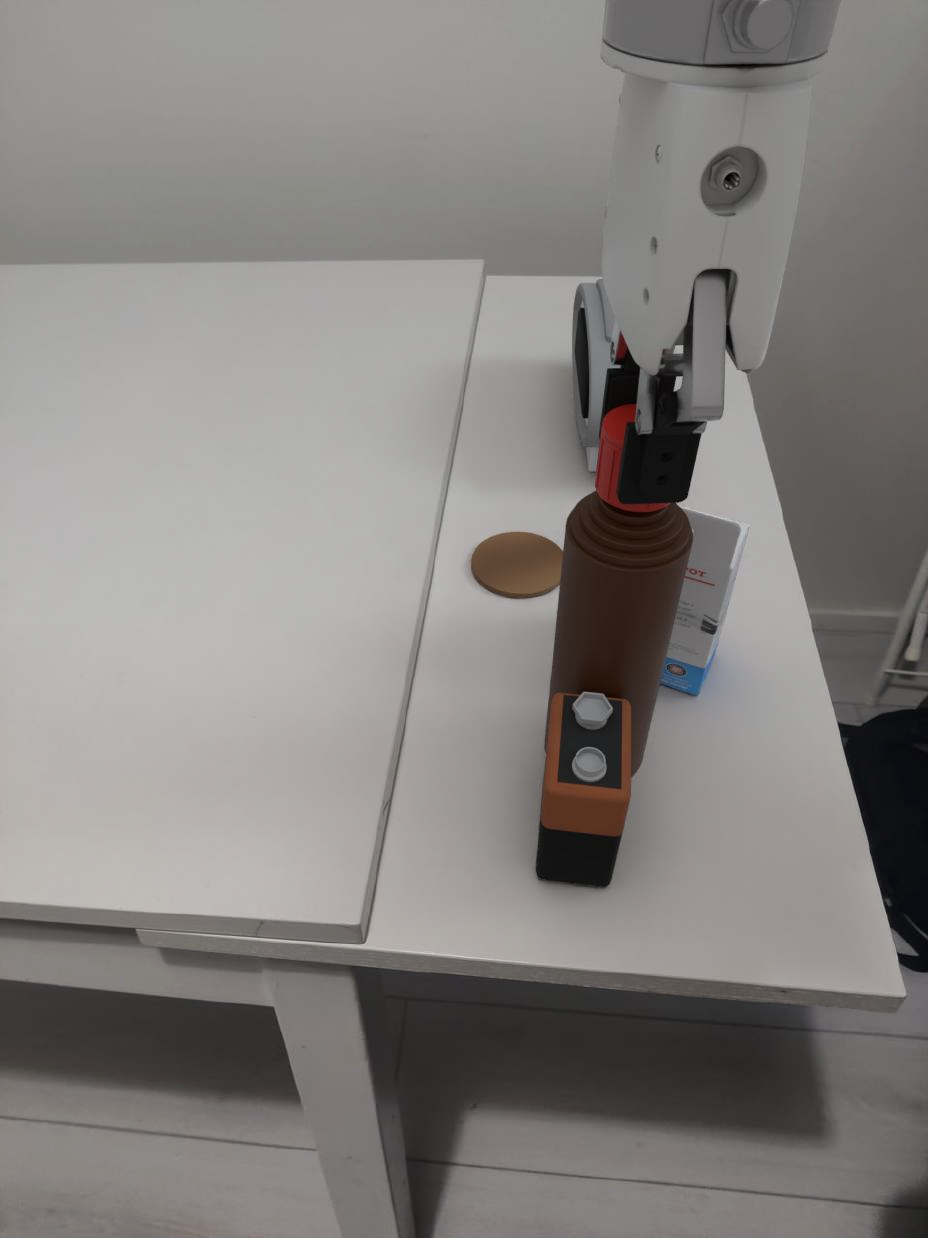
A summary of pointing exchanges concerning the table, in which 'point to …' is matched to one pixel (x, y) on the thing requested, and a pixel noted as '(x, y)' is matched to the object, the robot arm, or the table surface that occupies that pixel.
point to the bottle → (618, 606)
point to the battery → (584, 788)
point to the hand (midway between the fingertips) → (640, 467)
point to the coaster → (518, 564)
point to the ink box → (703, 598)
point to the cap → (616, 459)
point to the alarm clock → (590, 361)
